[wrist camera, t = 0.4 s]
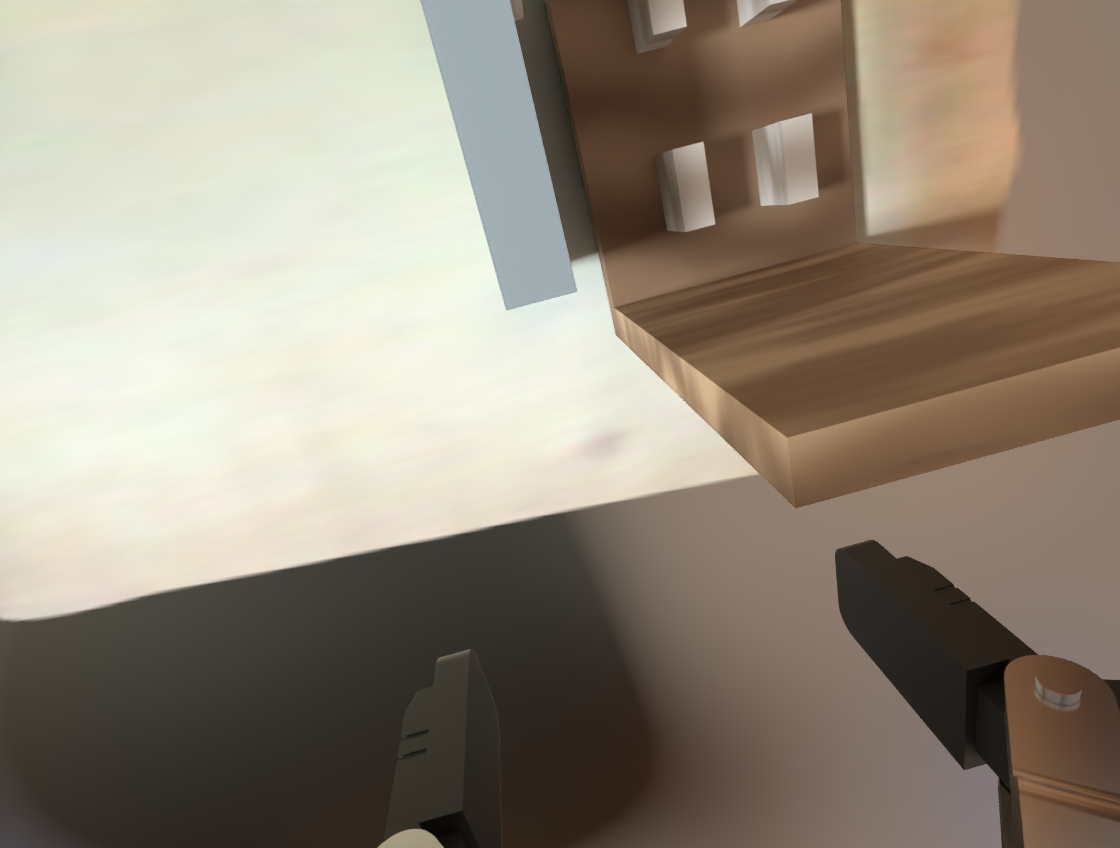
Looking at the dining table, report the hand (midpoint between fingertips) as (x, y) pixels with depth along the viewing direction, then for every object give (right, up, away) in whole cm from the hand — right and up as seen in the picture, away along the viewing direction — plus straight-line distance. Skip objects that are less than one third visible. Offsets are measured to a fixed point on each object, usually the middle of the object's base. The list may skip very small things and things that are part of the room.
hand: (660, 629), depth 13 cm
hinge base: (+6, +23, +20) cm, 31 cm away
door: (-6, +20, +20) cm, 29 cm away
